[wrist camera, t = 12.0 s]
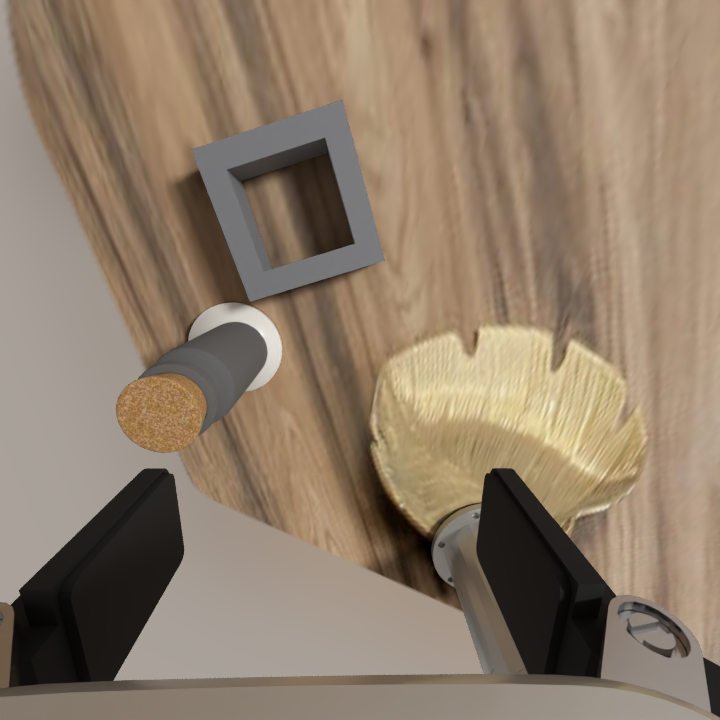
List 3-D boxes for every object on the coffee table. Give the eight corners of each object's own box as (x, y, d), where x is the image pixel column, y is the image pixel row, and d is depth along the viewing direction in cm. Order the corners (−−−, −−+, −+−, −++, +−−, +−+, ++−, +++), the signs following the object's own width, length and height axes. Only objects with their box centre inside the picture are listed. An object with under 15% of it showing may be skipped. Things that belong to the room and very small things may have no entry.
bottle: (250, 388, 35) (184, 478, 21) (197, 359, 34) (88, 431, 20) (279, 341, 34) (229, 400, 19) (224, 309, 33) (129, 347, 18)
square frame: (380, 260, 33) (384, 260, 29) (260, 297, 33) (249, 301, 30) (342, 120, 30) (342, 99, 26) (211, 163, 30) (191, 149, 26)
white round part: (295, 375, 36) (294, 377, 35) (213, 399, 36) (210, 402, 35) (264, 290, 33) (261, 291, 32) (176, 317, 34) (172, 318, 33)
